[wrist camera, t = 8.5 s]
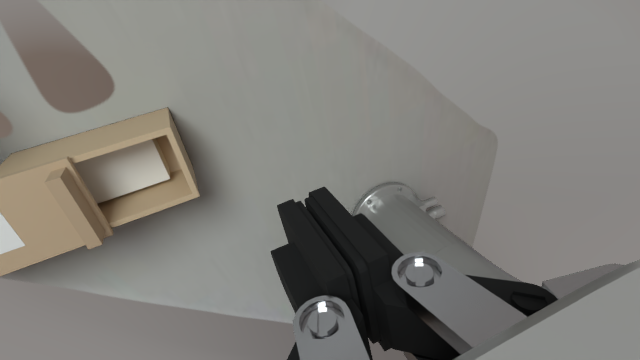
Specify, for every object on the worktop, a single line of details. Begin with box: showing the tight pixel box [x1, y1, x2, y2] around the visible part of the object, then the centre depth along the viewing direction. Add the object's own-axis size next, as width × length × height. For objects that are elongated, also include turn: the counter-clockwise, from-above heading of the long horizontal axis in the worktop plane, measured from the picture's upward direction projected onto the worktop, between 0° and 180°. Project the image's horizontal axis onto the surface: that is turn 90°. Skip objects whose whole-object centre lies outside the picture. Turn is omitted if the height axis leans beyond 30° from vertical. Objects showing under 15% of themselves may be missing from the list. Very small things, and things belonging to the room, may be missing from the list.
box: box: [0, 107, 200, 228], centre depth 38 cm, size 16×8×8 cm, turn 103°
